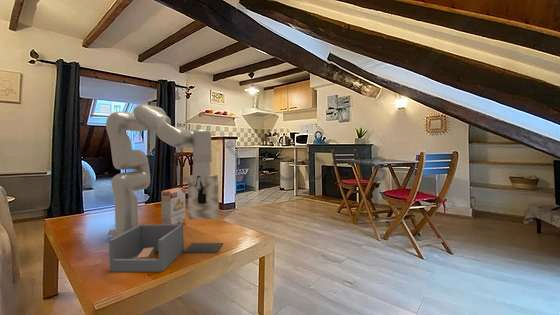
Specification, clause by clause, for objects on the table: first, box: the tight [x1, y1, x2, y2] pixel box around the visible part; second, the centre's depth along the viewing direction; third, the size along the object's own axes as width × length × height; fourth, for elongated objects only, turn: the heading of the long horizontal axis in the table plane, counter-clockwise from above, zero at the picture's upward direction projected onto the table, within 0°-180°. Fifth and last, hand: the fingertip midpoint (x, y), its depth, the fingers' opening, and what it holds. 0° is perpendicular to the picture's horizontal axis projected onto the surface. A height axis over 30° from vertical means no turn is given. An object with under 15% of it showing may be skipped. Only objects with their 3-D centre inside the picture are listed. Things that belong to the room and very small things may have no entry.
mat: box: [182, 242, 224, 254], centre depth 111 cm, size 14×10×1 cm
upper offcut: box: [137, 247, 155, 259], centre depth 97 cm, size 9×4×2 cm, turn 14°
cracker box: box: [160, 187, 186, 226], centre depth 143 cm, size 14×6×21 cm, turn 168°
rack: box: [108, 224, 185, 273], centre depth 100 cm, size 18×19×11 cm
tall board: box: [187, 174, 220, 220], centre depth 111 cm, size 12×3×18 cm, turn 89°
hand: (203, 202), depth 111 cm, fingers closed on tall board, 3 cm apart
